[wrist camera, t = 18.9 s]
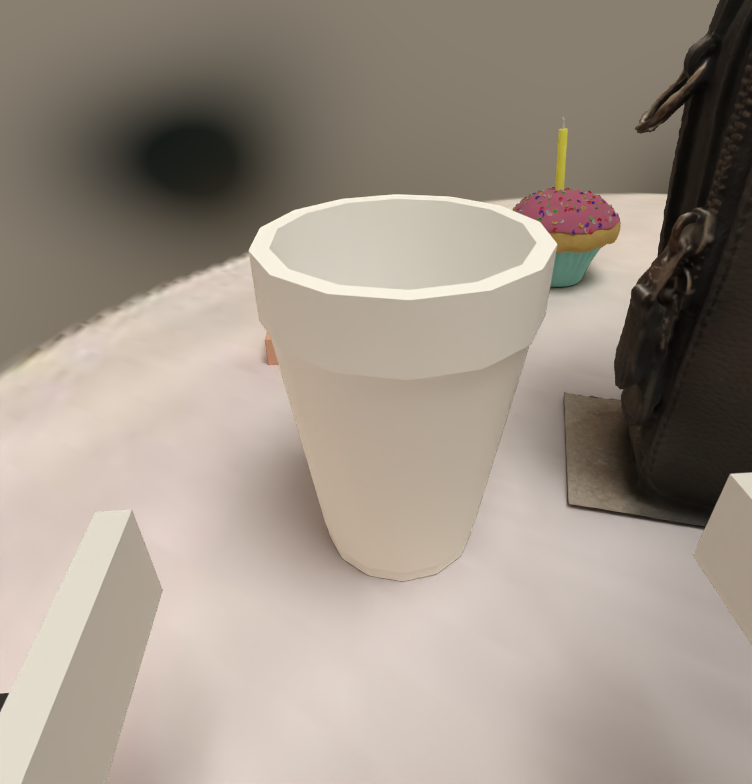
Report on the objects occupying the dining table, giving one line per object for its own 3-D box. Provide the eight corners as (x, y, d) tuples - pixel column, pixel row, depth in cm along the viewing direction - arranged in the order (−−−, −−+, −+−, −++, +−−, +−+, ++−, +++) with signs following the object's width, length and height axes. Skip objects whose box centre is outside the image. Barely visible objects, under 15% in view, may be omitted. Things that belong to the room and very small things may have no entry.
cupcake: (484, 266, 49) (498, 116, 43) (564, 252, 52) (590, 108, 45) (540, 305, 43) (567, 135, 36) (630, 287, 45) (671, 125, 38)
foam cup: (466, 654, 20) (508, 327, 12) (251, 565, 23) (184, 267, 16) (527, 483, 27) (577, 210, 19) (355, 434, 30) (342, 185, 23)
